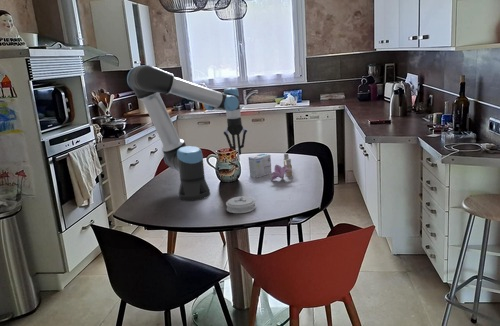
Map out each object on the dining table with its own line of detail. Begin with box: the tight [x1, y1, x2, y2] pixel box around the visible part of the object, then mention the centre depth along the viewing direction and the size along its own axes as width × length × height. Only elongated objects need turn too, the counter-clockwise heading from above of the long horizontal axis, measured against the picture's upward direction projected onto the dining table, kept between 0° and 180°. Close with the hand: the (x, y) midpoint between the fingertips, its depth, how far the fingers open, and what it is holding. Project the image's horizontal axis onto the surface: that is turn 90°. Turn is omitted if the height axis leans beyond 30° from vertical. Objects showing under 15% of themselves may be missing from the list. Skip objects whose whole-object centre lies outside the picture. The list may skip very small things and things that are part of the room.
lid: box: [225, 195, 257, 214], centre depth 182 cm, size 13×13×5 cm
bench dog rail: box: [283, 152, 293, 178], centre depth 232 cm, size 16×3×9 cm, turn 0°
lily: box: [268, 164, 291, 184], centre depth 217 cm, size 12×12×10 cm
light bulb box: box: [247, 153, 272, 178], centre depth 232 cm, size 11×7×11 cm, turn 128°
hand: (238, 160), depth 232 cm, fingers closed
